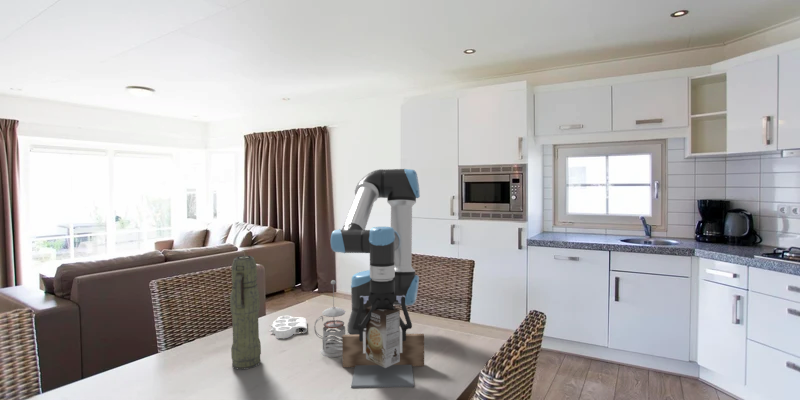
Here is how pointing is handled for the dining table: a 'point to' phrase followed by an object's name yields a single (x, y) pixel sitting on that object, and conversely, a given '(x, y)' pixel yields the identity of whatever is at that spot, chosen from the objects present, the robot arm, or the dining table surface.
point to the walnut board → (355, 356)
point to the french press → (332, 346)
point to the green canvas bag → (245, 313)
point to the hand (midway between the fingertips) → (382, 351)
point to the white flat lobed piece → (288, 326)
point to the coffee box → (383, 337)
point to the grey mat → (382, 376)
